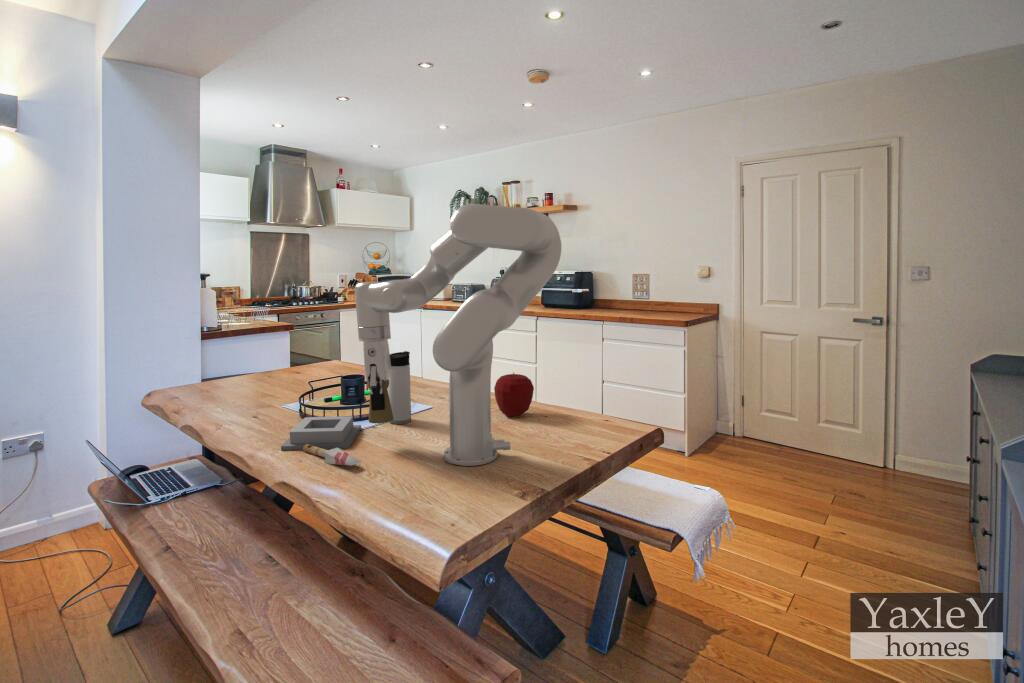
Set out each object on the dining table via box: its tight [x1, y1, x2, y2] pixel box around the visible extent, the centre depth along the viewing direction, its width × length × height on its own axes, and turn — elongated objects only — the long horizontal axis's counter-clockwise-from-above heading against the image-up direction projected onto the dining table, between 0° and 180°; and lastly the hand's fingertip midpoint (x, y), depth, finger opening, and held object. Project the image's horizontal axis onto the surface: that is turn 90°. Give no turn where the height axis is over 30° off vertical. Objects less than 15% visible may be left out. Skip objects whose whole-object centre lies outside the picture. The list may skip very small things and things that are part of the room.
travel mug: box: [387, 350, 412, 425], centre depth 152 cm, size 6×7×20 cm
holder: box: [280, 416, 362, 451], centre depth 138 cm, size 16×16×4 cm
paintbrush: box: [302, 444, 362, 466], centre depth 124 cm, size 4×3×20 cm
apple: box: [493, 372, 535, 419], centre depth 158 cm, size 12×12×13 cm
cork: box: [366, 378, 394, 424], centre depth 131 cm, size 6×6×11 cm
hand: (380, 406), depth 131 cm, fingers closed on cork, 4 cm apart
